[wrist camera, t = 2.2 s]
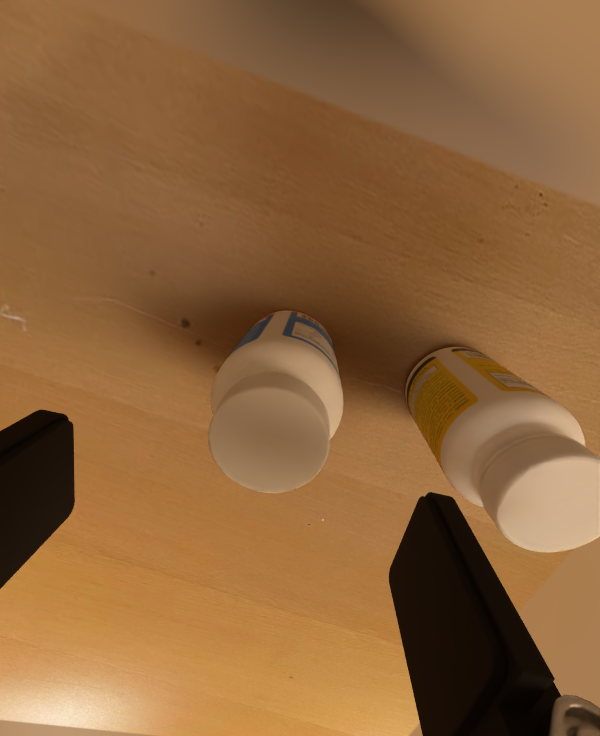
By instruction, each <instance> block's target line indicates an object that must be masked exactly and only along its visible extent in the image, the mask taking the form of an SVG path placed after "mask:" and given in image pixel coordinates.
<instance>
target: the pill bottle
mask: <svg viewBox="0 0 600 736" xmlns="http://www.w3.org/2000/svg"><path fill="white" fill-rule="evenodd" d="M211 408H212V413H213V417H212V419H211V422H210V426H209V432H208V441H209V448H210V451H211V454H212V457H213V459H214V461H215V462H216V464H217V465H218V467H219V468H220V469H221V471H222V472H223V473H224V474H225V475H226V476H227V477H229V478H230V479H231V480H233V481H234V482H235V483H237V484H239V485H241V486H243V487H245V488H248V489H250V490H254V491H258V492H265V493H281V492H286V491H291V490H294V489H297V488H299V487H301V486H303V485H305V484H306V483H308V482H309V481H310V480H312V479H313V478H314V477H315V476H316V475H317V474H318V473H319V472H320V470H321V469H322V467H323V466H324V464H325V462H326V459H327V456H328V452H329V446H330V439H331V438H332V437H333V435H334V434H335V432H336V430H337V428H338V426H339V424H340V421H341V417H342V412H343V392H342V385H341V380H340V376H339V370H338V365H337V360H336V356H335V350H334V346H333V342H332V339H331V337H330V335H329V333H328V332H327V330H326V329H325V328H324V327H323V326H322V325H321V324H320V323H319V322H318V321H317V320H316V319H314V318H312V317H311V316H309V315H306V314H304V313H301V312H297V311H278V312H274V313H271V314H269V315H267V316H265V317H263V318H262V319H260V320H259V321H258V322H257V323H255V324H254V325H253V326H252V328H251V329H250V330H249V331H248V333H247V334H246V335H245V336H244V337H243V339H242V340H241V341H240V343H239V344H238V345H237V346H236V347H235V349H234V350H233V351H232V352H231V354H230V355H229V356H228V358H227V359H226V360H225V361H224V363H223V365H222V366H221V368H220V369H219V371H218V373H217V375H216V377H215V380H214V382H213V386H212V392H211Z"/></svg>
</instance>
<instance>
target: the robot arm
mask: <svg viewBox="0 0 600 736" xmlns="http://www.w3.org/2000/svg"><path fill="white" fill-rule="evenodd" d="M74 502H75V498H74V436H73V424H72V422H70V421H69V420H68V417H67V416H66V415H64V414H61V413H56V412H51V411H47V410H38V411H36V412H34V413H32V414H30V415H28V416H27V417H25V418H23V419H21V420H20V421H18V422H16V423H14V424H12V425H11V426H9V427H7V428H5V429H3V430H2V431H0V589H1V588H2V587H3V586H4V584H5V583H6V582H7V581H8V580H9V579H10V578H11V577H12V576H13V575H14V574H15V573H16V572H17V571H18V570H19V569H20V568H21V566H22V565H23V564H24V563H25V562H26V561H27V560H28V559H29V558H30V557H31V556H32V555H33V554H34V553H35V552H36V551H37V550H38V548H39V547H40V546H41V545H42V544H43V543H44V542H45V541H46V540H47V539H48V538H49V537H50V536H51V535H52V534H53V533H54V532H55V531H56V529H57V528H58V527H59V526H60V525H61V524H62V523H63V522H64V521H65V520H66V519H67V518H68V516H69V515H70V514H71V512H72V510H73V507H74ZM389 584H390V588H391V593H392V598H393V602H394V607H395V611H396V616H397V620H398V625H399V629H400V634H401V638H402V643H403V648H404V652H405V657H406V661H407V666H408V670H409V675H410V679H411V684H412V688H413V693H414V698H415V702H416V707H417V711H418V716H419V720H420V725H421V729H422V734H423V736H600V708H599V707H597V706H596V705H594V704H593V703H591V702H590V701H587V700H585V699H583V698H580V697H578V696H573V695H563V696H561V695H560V693H559V691H558V689H557V688H556V686H555V684H554V682H553V681H554V677H553V675H552V673H551V672H550V670H549V668H548V666H547V664H546V662H545V661H544V659H543V657H542V655H541V654H540V652H539V650H538V648H537V647H536V645H535V643H534V641H533V639H532V638H531V636H530V634H529V632H528V630H527V629H526V627H525V625H524V623H523V621H522V620H521V618H520V616H519V614H518V612H517V611H516V609H515V607H514V605H513V603H512V602H511V600H510V598H509V596H508V595H507V593H506V591H505V589H504V587H503V586H502V584H501V582H500V580H499V578H498V577H497V575H496V573H495V571H494V570H493V568H492V566H491V564H490V562H489V561H488V559H487V557H486V555H485V553H484V552H483V550H482V548H481V546H480V545H479V543H478V541H477V539H476V537H475V536H474V534H473V532H472V530H471V528H470V527H469V525H468V523H467V521H466V519H465V518H464V516H463V514H462V512H461V511H460V509H459V507H458V505H457V503H456V502H455V500H454V499H453V498H452V497H450V496H446V495H441V494H437V493H432V492H430V493H428V494H427V495H426V496H425V497H424V496H422V497H420V498H419V500H418V502H417V505H416V507H415V509H414V512H413V514H412V517H411V519H410V522H409V524H408V526H407V529H406V531H405V534H404V536H403V538H402V541H401V543H400V546H399V548H398V550H397V553H396V555H395V558H394V560H393V563H392V565H391V567H390V572H389Z"/></svg>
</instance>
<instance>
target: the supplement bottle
mask: <svg viewBox="0 0 600 736" xmlns="http://www.w3.org/2000/svg"><path fill="white" fill-rule="evenodd" d="M405 398H406V403H407V406H408V408H409V411H410V413H411V415H412V417H413V419H414V420H415V422H416V424H417V426H418V428H419V429H420V431H421V433H422V435H423V437H424V438H425V440H426V442H427V443H428V445H429V447H430V449H431V451H432V452H433V454H434V456H435V458H436V459H437V461H438V463H439V465H440V467H441V468H442V470H443V472H444V474H445V475H446V477H447V479H448V480H449V482H450V483H451V485H452V486H453V487H454V489H455V490H456V491H457V492H458V493H459V494H460V495H461V496H463V497H464V498H465V499H467V500H468V501H470V502H471V503H473V504H476V505H478V506H480V507H483V508H485V510H486V512H487V513H488V514H489V515H490V517H491V518H492V520H493V521H494V523H495V524H496V526H497V527H498V529H499V530H500V531H501V533H502V534H503V535H504V536H505V537H506V538H507V539H508V540H509V541H511V542H512V543H514V544H515V545H517V546H519V547H522V548H524V549H527V550H531V551H537V552H558V551H565V550H570V549H574V548H577V547H580V546H582V545H584V544H586V543H589V542H591V541H593V540H594V539H596V538H597V537H599V536H600V458H599V457H598V456H597V455H596V454H594V453H593V452H592V451H590V450H589V449H588V448H587V447H585V440H584V436H583V432H582V430H581V428H580V426H579V424H578V422H577V421H576V419H575V418H574V417H573V415H572V414H571V413H570V412H569V411H568V410H567V409H565V408H564V407H563V406H561V405H560V404H559V403H558V402H556V401H555V400H553V399H552V398H550V397H549V396H547V395H546V394H544V393H543V392H541V391H539V390H538V389H536V388H535V387H533V386H532V385H530V384H529V383H527V382H526V381H524V380H522V379H521V378H519V377H518V376H516V375H515V374H513V373H512V372H510V371H509V370H507V369H506V368H504V367H503V366H501V365H500V364H498V363H496V362H495V361H493V360H492V359H490V358H489V357H487V356H486V355H484V354H482V353H480V352H478V351H476V350H473V349H470V348H465V347H449V348H444V349H440V350H438V351H435V352H433V353H431V354H429V355H428V356H426V357H425V358H423V359H422V360H421V361H420V362H419V363H418V364H417V365H416V366H415V367H414V369H413V370H412V372H411V373H410V375H409V377H408V380H407V383H406V389H405Z"/></svg>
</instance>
